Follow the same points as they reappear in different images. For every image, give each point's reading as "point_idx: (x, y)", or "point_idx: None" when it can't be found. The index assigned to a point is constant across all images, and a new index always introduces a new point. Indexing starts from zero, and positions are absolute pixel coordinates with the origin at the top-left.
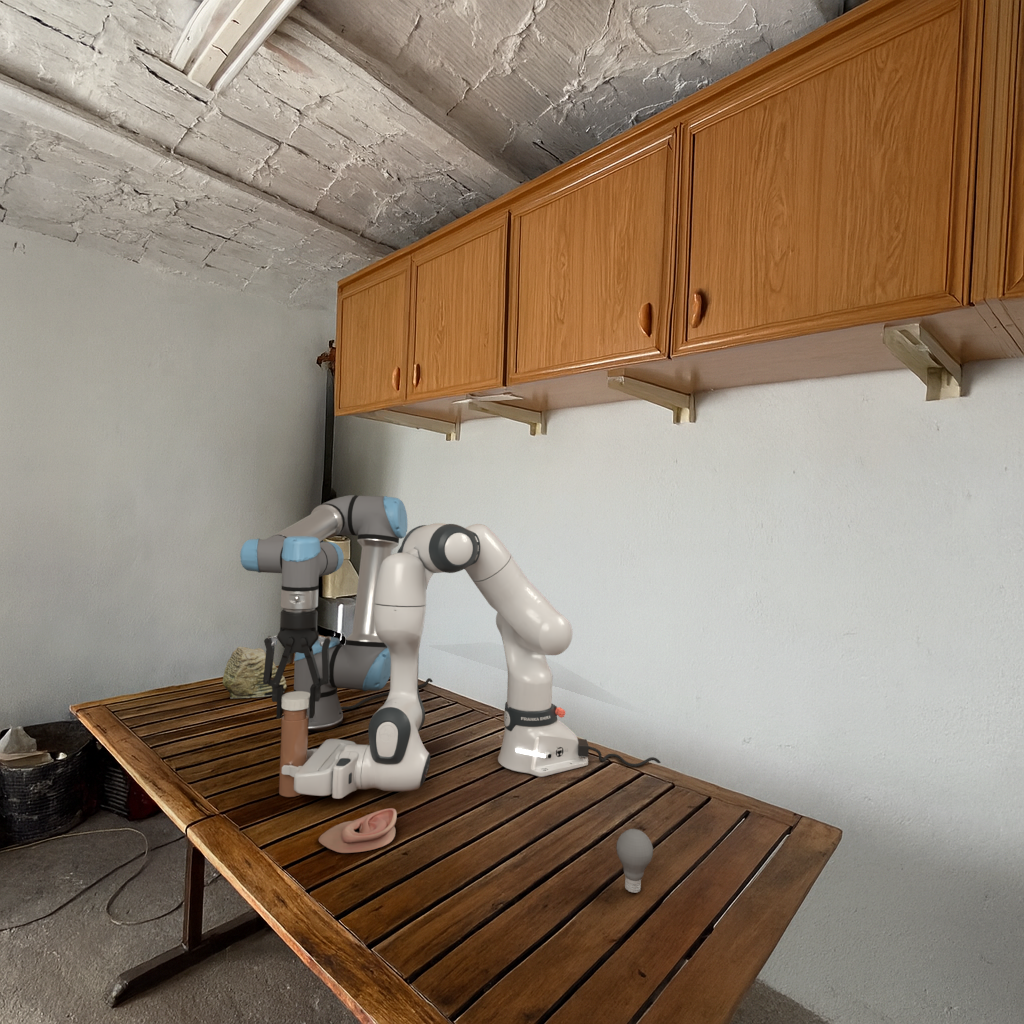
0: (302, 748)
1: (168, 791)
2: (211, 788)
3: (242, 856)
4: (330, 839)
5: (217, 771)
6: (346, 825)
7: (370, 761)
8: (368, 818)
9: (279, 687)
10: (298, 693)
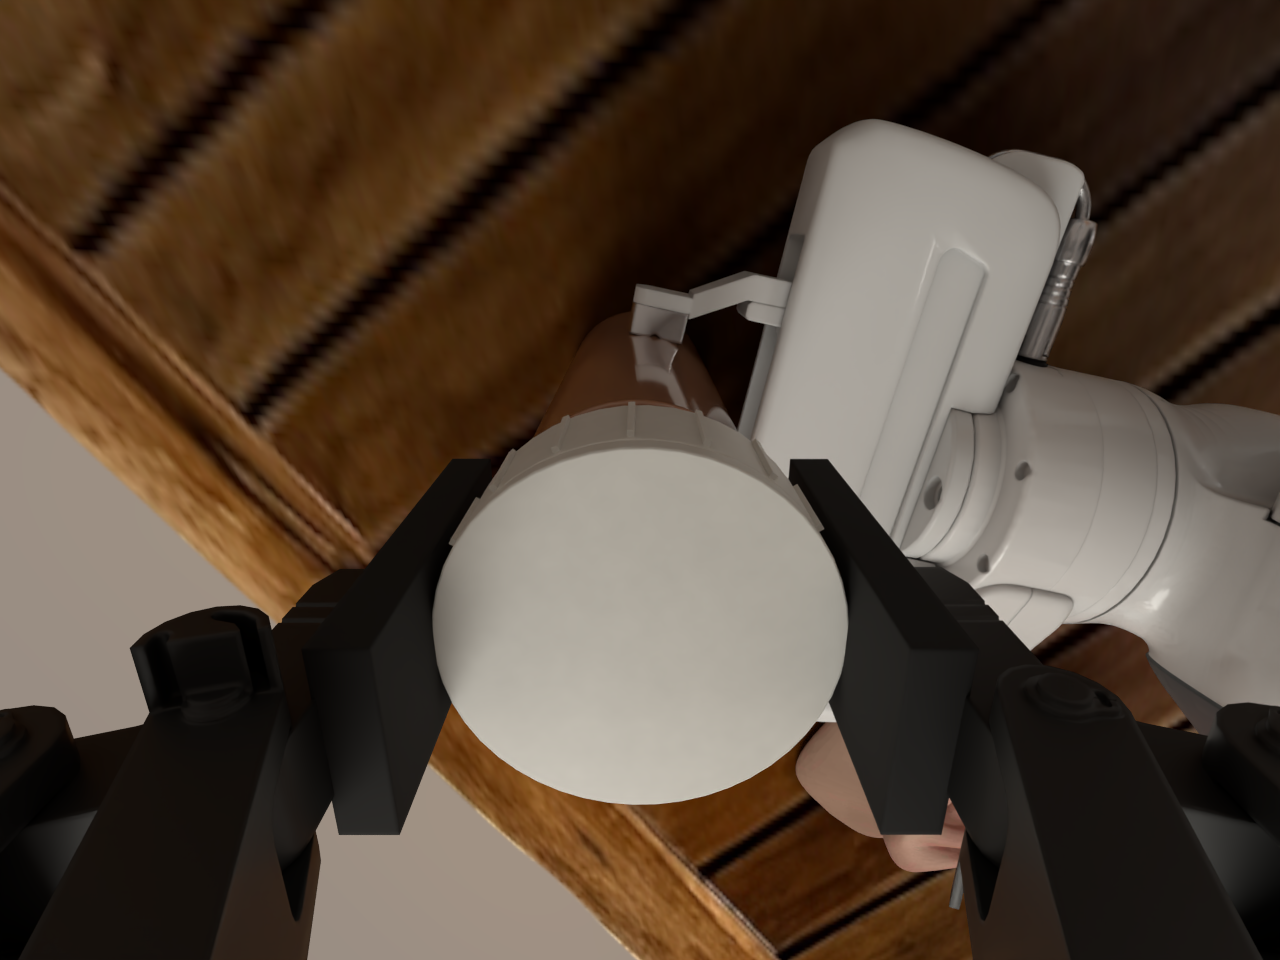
0: None
1: (33, 341)
2: (226, 320)
3: (564, 818)
4: (840, 806)
5: (146, 87)
6: None
7: (1121, 626)
8: None
9: (359, 802)
10: (651, 554)
